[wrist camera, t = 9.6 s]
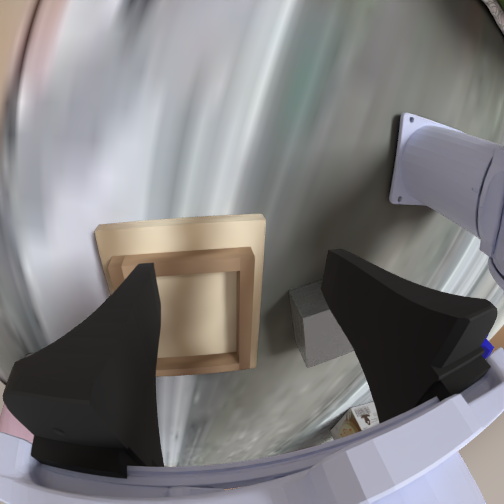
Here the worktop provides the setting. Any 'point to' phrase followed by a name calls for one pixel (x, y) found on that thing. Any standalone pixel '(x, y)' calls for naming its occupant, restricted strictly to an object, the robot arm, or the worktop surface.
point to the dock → (196, 286)
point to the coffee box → (356, 420)
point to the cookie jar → (497, 11)
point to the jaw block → (316, 326)
